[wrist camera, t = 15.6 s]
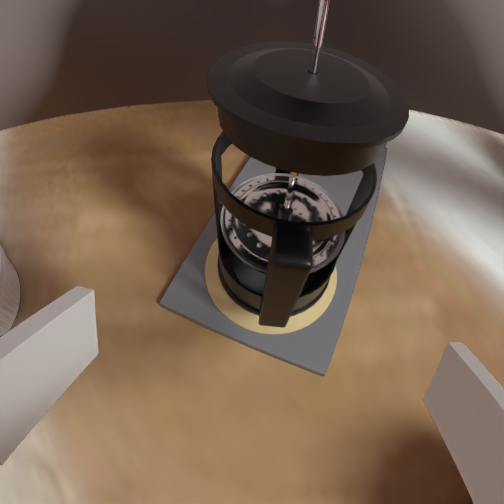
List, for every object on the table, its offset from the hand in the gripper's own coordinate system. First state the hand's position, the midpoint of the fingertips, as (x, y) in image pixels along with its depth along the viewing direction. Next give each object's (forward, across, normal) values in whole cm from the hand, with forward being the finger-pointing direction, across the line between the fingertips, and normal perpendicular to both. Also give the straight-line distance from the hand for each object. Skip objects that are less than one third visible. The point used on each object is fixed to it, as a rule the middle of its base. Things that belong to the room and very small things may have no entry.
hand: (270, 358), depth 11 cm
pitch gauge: (+22, +2, +3) cm, 22 cm away
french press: (+16, 0, -2) cm, 16 cm away
